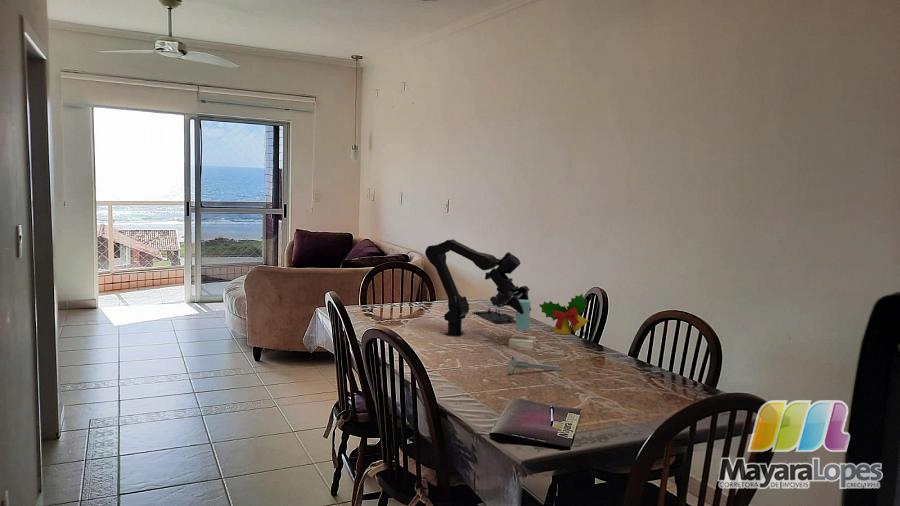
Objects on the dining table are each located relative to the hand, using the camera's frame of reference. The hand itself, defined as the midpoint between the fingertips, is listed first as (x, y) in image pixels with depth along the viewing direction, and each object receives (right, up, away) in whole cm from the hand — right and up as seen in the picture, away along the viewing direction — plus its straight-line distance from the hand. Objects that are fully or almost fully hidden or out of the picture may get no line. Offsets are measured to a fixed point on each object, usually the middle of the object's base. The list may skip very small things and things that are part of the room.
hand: (526, 312), depth 245 cm
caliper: (-1, -18, -31) cm, 36 cm away
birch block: (-1, -14, +2) cm, 14 cm away
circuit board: (-7, -8, +53) cm, 54 cm away
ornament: (+19, -11, +28) cm, 35 cm away
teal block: (-1, -6, +1) cm, 7 cm away
